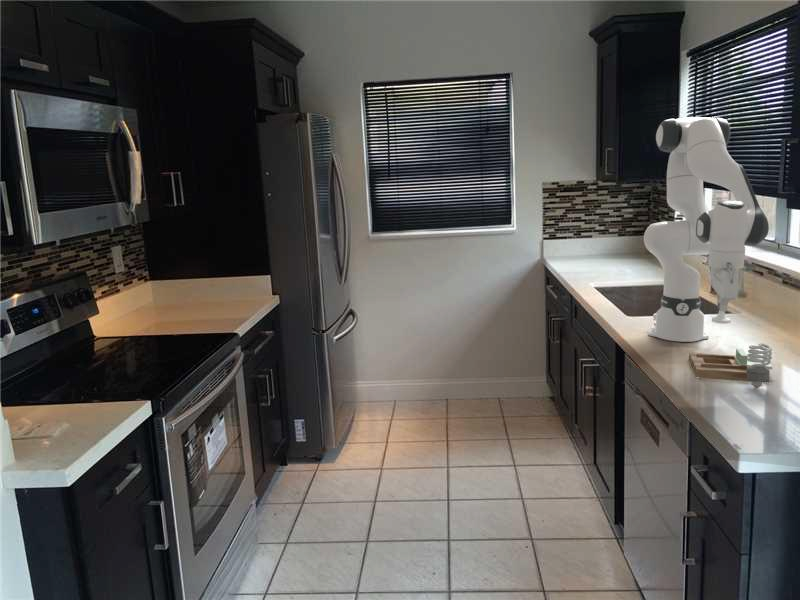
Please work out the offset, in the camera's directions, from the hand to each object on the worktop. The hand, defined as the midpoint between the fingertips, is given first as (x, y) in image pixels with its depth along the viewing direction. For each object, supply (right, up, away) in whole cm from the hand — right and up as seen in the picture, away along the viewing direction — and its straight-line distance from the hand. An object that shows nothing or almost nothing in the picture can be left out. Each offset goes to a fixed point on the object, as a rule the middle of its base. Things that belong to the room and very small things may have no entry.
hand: (721, 309), depth 186 cm
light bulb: (+4, -21, -11) cm, 24 cm away
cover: (+9, -15, +1) cm, 18 cm away
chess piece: (0, -4, +1) cm, 4 cm away
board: (+3, -18, +3) cm, 18 cm away
